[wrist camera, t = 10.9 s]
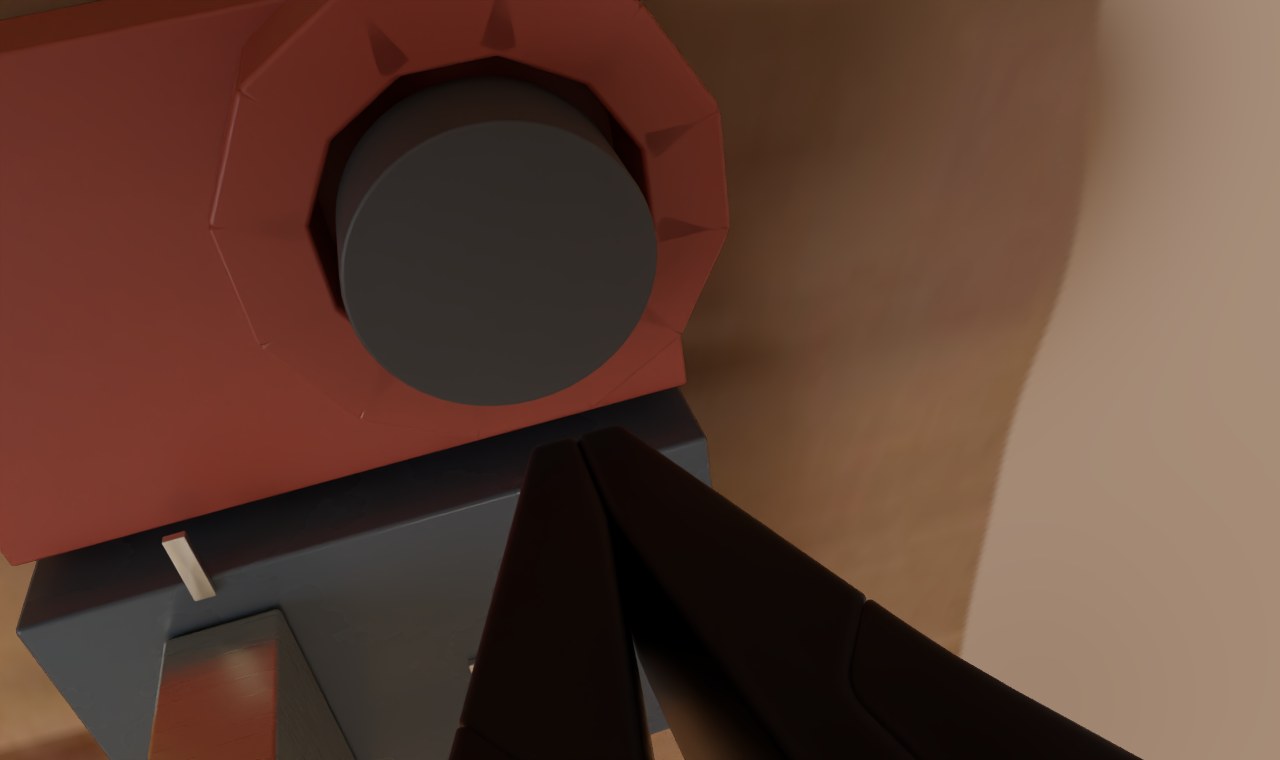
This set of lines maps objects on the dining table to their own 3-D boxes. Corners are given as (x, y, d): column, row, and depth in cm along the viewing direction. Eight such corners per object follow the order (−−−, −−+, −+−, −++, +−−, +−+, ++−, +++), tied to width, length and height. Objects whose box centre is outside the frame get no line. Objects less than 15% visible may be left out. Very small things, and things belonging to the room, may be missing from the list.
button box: (35, 494, 19) (-20, 659, 15) (-263, 33, 14) (-434, 136, 10) (679, 325, 20) (749, 442, 17) (622, -135, 15) (705, -91, 12)
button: (381, 370, 15) (390, 440, 14) (293, 112, 13) (293, 164, 11) (640, 304, 16) (673, 364, 14) (601, 45, 13) (637, 86, 12)
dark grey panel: (136, 817, 24) (116, 949, 21) (-104, 501, 18) (-170, 633, 15) (700, 640, 26) (743, 742, 23) (654, 305, 20) (705, 393, 17)
